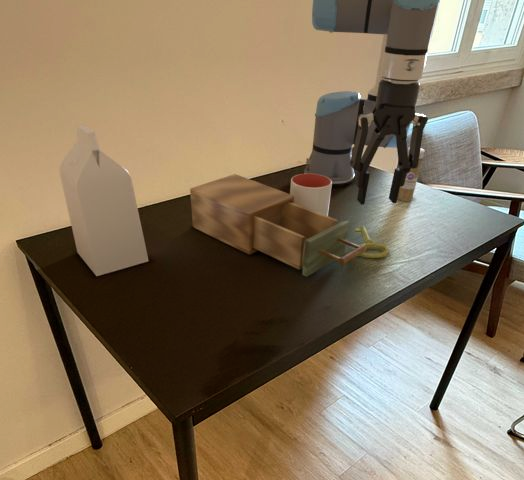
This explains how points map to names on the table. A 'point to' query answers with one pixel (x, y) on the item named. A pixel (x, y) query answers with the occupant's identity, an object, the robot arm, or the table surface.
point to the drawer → (302, 237)
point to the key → (371, 245)
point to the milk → (101, 207)
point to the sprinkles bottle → (410, 180)
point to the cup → (312, 192)
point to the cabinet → (233, 208)
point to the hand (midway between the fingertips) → (376, 201)
